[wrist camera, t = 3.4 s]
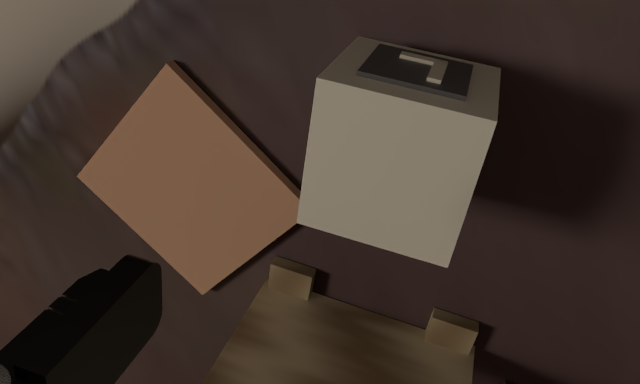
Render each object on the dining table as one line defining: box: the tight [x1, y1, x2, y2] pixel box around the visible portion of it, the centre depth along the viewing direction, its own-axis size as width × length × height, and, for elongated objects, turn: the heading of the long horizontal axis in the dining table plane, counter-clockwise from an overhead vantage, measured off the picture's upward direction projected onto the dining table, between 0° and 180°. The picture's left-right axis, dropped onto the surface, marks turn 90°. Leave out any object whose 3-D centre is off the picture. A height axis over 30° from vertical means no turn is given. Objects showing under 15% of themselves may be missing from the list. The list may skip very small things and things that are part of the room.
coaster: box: [77, 60, 301, 295], centre depth 29 cm, size 10×10×1 cm
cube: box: [296, 36, 501, 268], centre depth 22 cm, size 6×6×6 cm
